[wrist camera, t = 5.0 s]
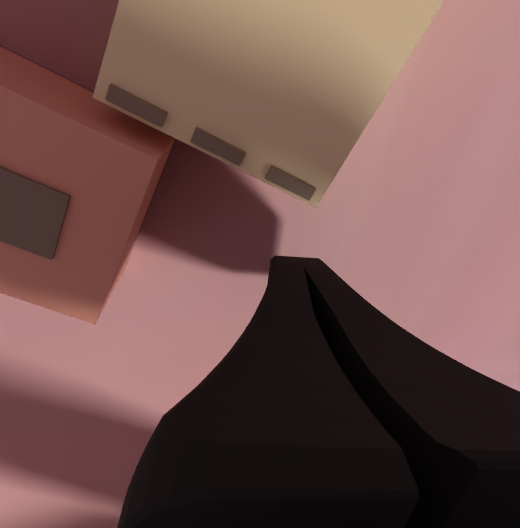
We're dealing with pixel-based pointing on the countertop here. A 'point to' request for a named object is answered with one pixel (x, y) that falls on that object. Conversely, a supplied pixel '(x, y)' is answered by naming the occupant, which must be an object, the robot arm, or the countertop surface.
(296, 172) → the slotted cream box
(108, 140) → the pink block
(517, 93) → the countertop surface
